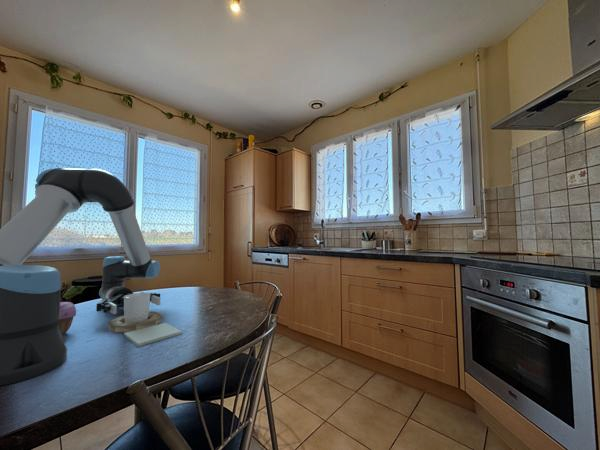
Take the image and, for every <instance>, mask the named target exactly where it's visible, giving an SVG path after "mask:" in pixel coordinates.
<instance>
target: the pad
mask: <svg viewBox="0 0 600 450" xmlns="http://www.w3.org/2000/svg"><path fill="white" fill-rule="evenodd" d="M179 335H182V330H181V329H178V328H176V327H174V326H172V325H170V324H169V323H167V322H162V323H158V324H157V325H155V326H151V327H147V328H143V329H139V330H135V331H131V332H123V337H125V338H127V340H129V341H130V342H131V343H133V344H134V345H135V346H136V347H138V348H139V347H142V346H145V345H149V344H151V343H155V342H158V341H162V340H166V339H169V338H172V337H175V336H179Z"/></svg>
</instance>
